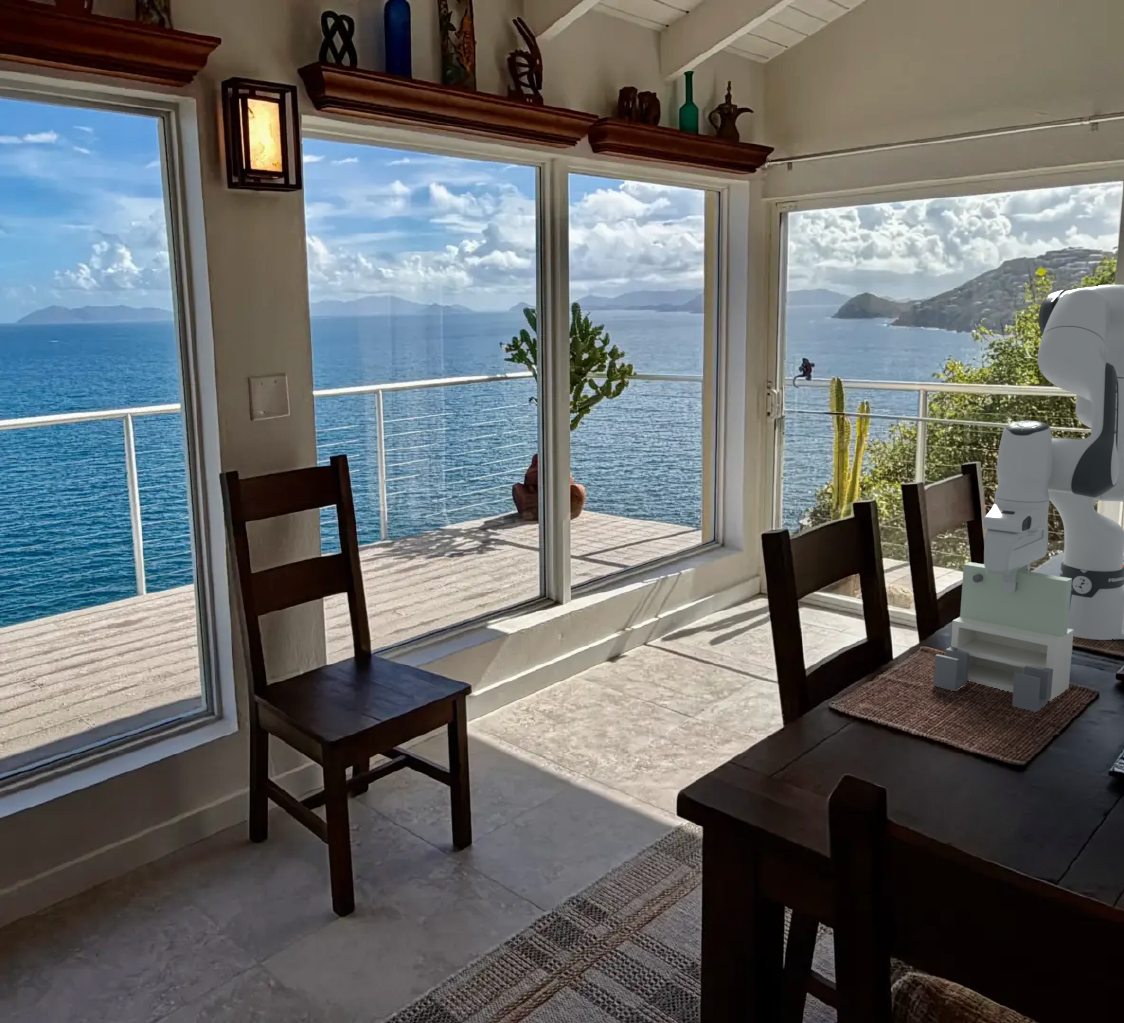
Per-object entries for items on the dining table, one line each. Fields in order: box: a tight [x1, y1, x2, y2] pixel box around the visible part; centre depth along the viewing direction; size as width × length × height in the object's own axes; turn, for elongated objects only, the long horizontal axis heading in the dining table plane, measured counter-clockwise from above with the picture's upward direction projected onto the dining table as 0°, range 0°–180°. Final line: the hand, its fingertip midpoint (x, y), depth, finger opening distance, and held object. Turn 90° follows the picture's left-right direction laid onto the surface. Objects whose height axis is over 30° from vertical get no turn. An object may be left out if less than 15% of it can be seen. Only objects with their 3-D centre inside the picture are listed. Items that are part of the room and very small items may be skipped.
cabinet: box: [932, 616, 1074, 713], centre depth 182 cm, size 16×18×11 cm
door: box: [959, 561, 1072, 637], centre depth 182 cm, size 4×18×10 cm, turn 45°
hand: (1014, 589), depth 182 cm, fingers closed on door, 2 cm apart
